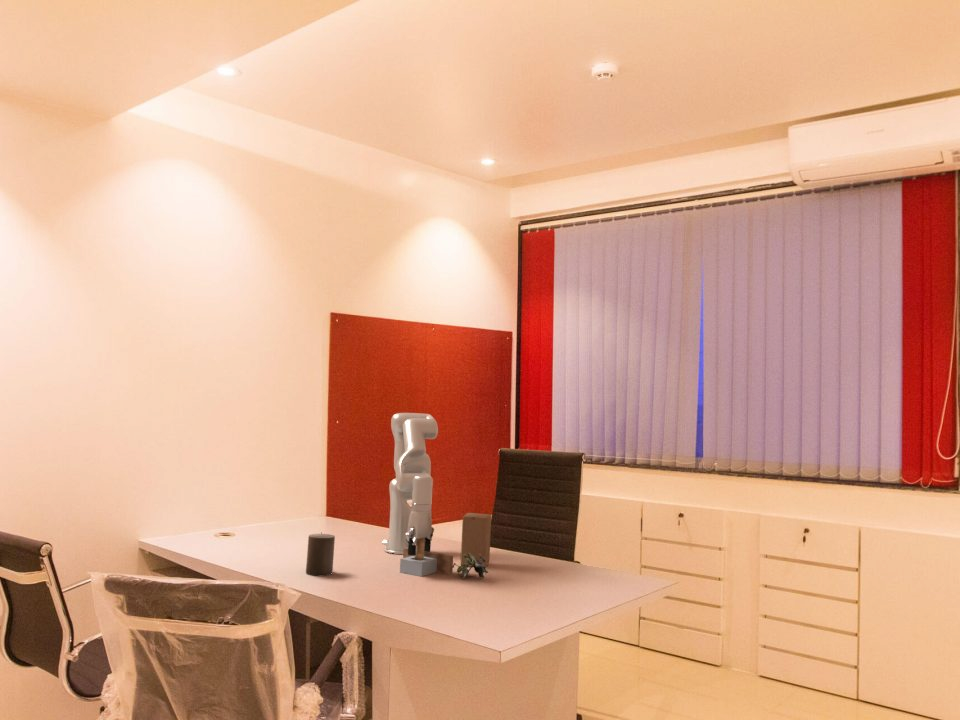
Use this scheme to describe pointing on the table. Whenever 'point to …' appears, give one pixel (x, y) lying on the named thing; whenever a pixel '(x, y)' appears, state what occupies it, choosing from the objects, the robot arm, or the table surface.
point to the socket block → (418, 566)
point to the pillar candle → (320, 554)
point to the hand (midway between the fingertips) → (419, 553)
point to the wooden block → (476, 537)
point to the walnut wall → (442, 560)
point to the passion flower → (474, 562)
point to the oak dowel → (420, 549)
